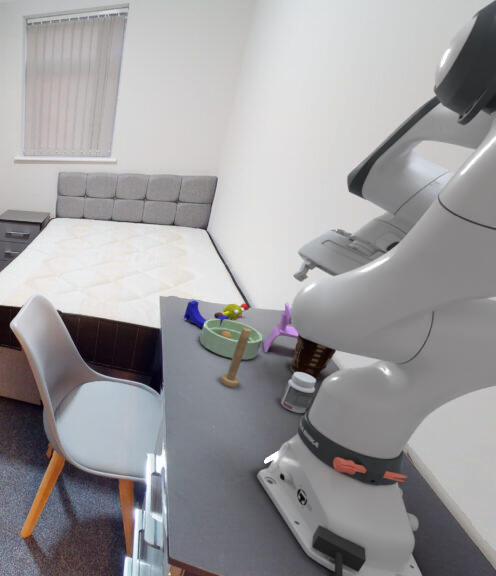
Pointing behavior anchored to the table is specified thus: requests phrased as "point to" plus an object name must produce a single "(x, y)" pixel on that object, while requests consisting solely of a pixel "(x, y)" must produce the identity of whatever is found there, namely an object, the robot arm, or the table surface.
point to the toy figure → (232, 311)
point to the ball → (226, 334)
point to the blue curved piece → (197, 314)
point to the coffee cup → (310, 357)
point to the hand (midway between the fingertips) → (313, 289)
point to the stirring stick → (236, 360)
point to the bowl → (225, 345)
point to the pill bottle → (298, 392)
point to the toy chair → (282, 328)
